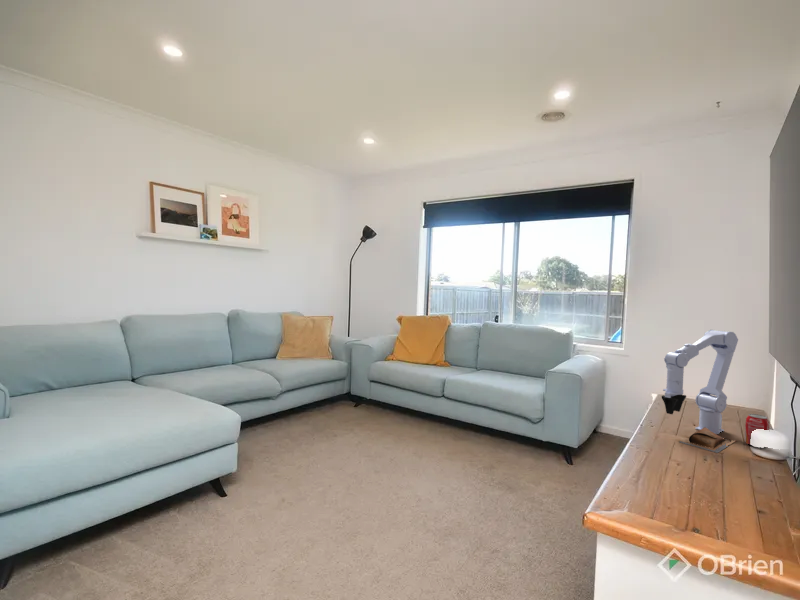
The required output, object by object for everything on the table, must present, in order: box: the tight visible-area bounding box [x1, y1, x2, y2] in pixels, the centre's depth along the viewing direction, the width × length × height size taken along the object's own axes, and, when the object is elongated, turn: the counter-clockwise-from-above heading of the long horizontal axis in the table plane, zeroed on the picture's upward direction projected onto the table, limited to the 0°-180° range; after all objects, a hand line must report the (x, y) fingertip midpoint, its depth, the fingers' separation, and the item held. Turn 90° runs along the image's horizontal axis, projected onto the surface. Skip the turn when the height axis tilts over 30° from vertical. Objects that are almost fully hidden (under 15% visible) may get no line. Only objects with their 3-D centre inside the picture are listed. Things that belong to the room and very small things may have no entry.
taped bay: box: [679, 441, 729, 454], centre depth 161 cm, size 24×12×1 cm, turn 127°
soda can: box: [744, 413, 770, 445], centre depth 159 cm, size 7×7×12 cm
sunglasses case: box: [688, 427, 726, 449], centre depth 163 cm, size 18×7×7 cm
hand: (673, 412), depth 171 cm, fingers open, 7 cm apart
